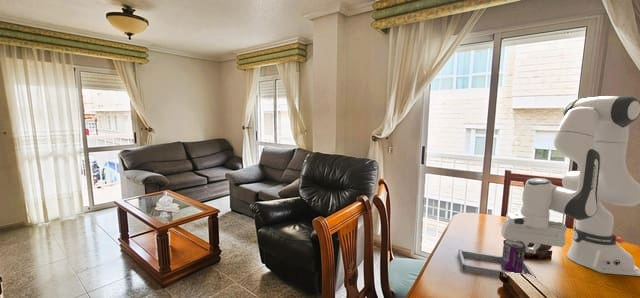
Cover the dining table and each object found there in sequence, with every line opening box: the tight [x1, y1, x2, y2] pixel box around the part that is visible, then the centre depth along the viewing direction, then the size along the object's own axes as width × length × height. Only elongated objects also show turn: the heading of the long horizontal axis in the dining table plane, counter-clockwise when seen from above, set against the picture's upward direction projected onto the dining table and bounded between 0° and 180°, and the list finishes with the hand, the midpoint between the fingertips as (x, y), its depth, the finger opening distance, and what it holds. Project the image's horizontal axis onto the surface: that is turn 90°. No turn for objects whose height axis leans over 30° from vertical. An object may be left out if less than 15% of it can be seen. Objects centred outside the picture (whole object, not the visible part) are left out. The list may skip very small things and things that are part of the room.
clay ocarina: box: [517, 241, 553, 260], centre depth 123 cm, size 10×15×8 cm, turn 73°
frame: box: [457, 249, 537, 279], centre depth 113 cm, size 25×13×2 cm, turn 70°
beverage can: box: [501, 239, 525, 274], centre depth 110 cm, size 7×7×12 cm
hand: (530, 252), depth 108 cm, fingers closed
